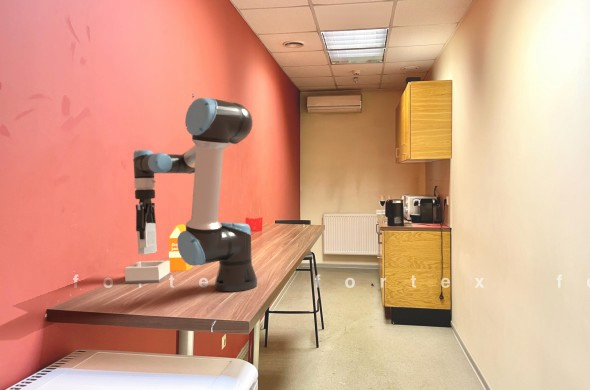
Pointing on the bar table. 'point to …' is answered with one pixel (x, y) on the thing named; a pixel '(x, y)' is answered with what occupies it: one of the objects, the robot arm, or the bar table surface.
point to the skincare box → (149, 240)
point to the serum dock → (147, 272)
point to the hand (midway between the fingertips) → (147, 245)
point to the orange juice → (176, 251)
